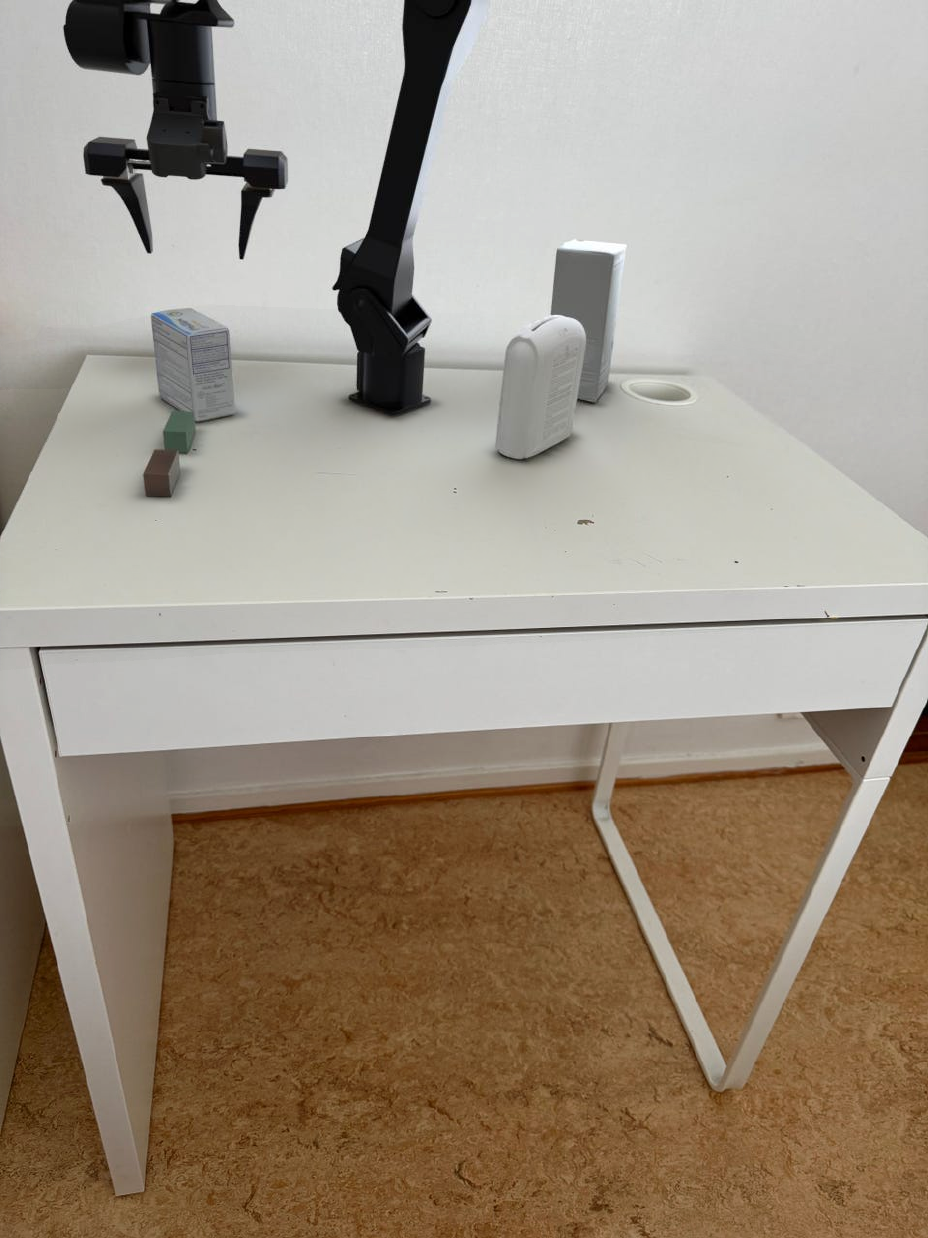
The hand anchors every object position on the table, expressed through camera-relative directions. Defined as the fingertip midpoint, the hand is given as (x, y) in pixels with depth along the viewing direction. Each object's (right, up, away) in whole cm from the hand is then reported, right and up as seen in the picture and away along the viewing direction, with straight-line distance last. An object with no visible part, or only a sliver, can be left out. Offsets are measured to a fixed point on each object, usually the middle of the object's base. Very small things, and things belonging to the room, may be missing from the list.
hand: (196, 255), depth 94 cm
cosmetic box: (+40, -11, +12) cm, 43 cm away
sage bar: (+2, -21, -10) cm, 24 cm away
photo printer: (+35, -20, -3) cm, 40 cm away
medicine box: (+1, -16, -3) cm, 17 cm away
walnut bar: (+2, -26, -18) cm, 32 cm away
